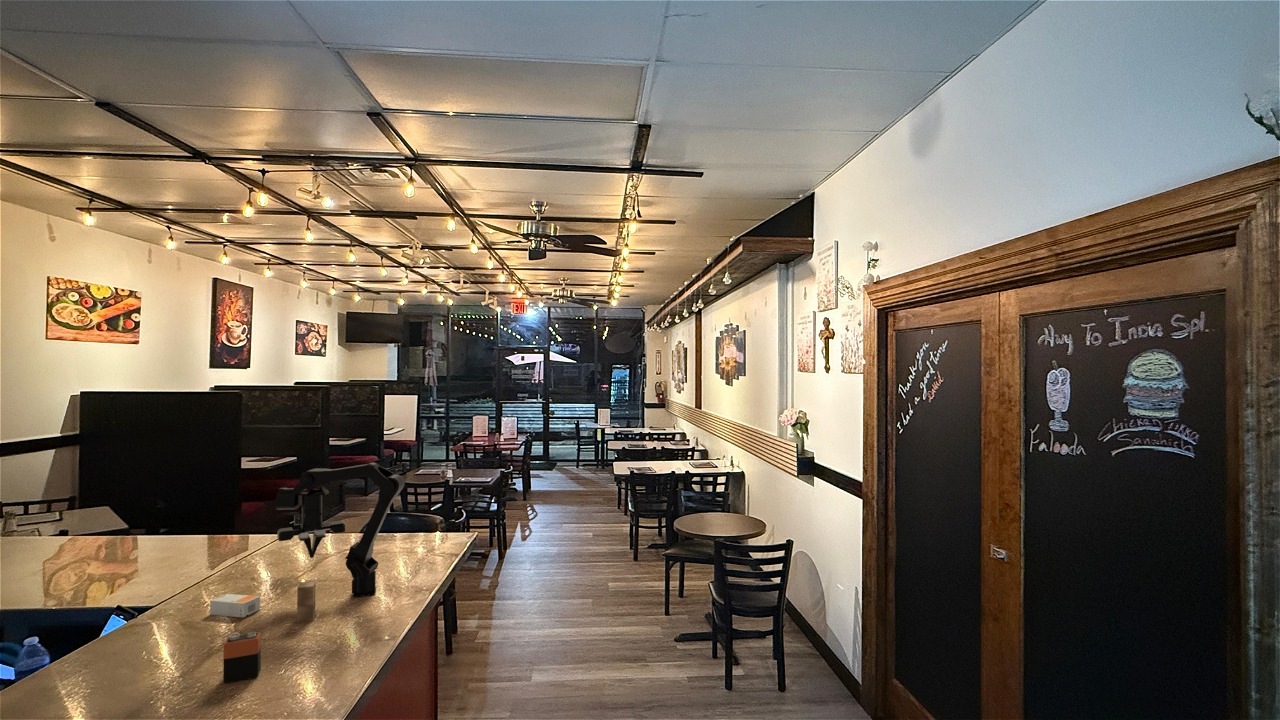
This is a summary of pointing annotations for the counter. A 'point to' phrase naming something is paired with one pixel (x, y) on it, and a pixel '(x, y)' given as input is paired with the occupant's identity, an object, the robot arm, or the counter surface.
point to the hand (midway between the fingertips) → (311, 557)
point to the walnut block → (306, 602)
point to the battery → (242, 657)
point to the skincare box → (234, 605)
